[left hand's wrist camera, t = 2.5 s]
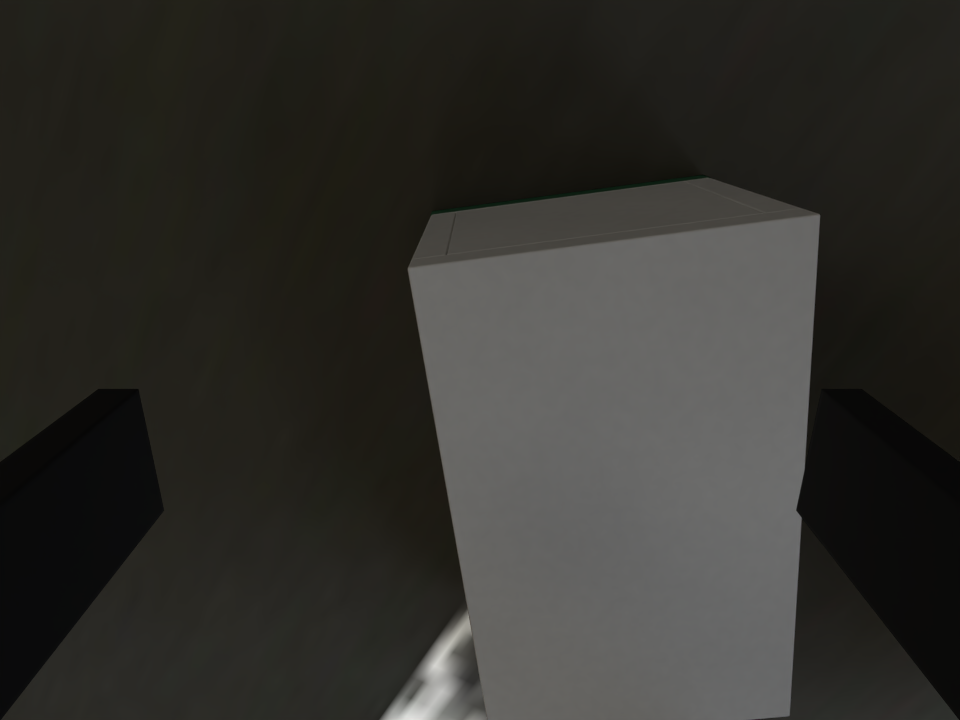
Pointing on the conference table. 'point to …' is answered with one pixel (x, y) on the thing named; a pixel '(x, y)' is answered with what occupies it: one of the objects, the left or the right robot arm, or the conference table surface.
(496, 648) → the cabinet
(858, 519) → the left robot arm
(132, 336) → the conference table surface
